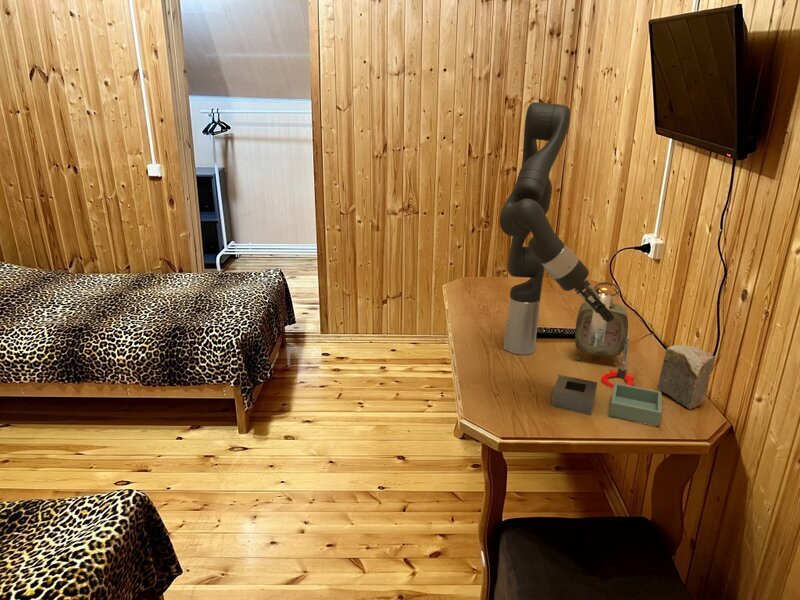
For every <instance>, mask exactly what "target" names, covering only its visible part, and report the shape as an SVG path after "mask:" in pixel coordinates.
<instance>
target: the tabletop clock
mask: <svg viewBox="0 0 800 600" xmlns="http://www.w3.org/2000/svg"><path fill="white" fill-rule="evenodd" d="M598 285H607V286H613V287H615V288H616V289H617V292H615V293H611V297H615V296H617V295H618V294H619V293H620V291H621V290H620V286H618V285H617V284H615V283H613V282H608V281H601V282H599V283H597V284H595V286H594V287H593V288H594V290H595V291H596V288H597V286H598ZM609 311H610V312H611V313H612V315H613V316H614V318H613V319H612V320H611V321H609V322H607V324H606V330H605V336H604V342H603V346H600V347H596V346H592V345H590V344H588V340H589V334H590V327H591V321H592V314H593V308H592V307H591V306H588V305H587V303H586V302H585V301H584V302H582V303H581V305H580V307H579V309H578V312H577V316H576V321H575V333H574V334H575V335H574V336H575V337H574V343H575V347H576V349H577V350H579V353H578V354H576V355H575V360H577V361H579V360H581V358H582V354H583V353H585V354H586V353H587V354H590V355H591V354H592V355H593V356H594V357H595V356H597V357H596V358H598V357H599V356H604V357H605V356H607V357H611V358H612V363H611V364H612V365H613V366H614V367H615V366H618V365H619V362H618V360H616V358H615V357H617V356H621V354H623V350H624V343H625V342H626V337H628V332H629V319H628V312H627V309H626V307H624V306H623V305H621V304H618V303H617V304H616V303H614V300H613V299H612V298H611V299H610V305H609Z"/></svg>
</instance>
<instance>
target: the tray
mask: <svg viewBox="0 0 800 600" xmlns="http://www.w3.org/2000/svg"><path fill="white" fill-rule="evenodd" d="M613 384H614V388H612V395H611V402H610V408H609V413H608V414H609V415H608V417H609V418H613V417H614V418H613V419H618V418H619V419H618V420H623V419H625V420H624V421H627V420H629V422H632V421H634V422H633V423H636V422H641V423H647V424H651V425H655V426H659V427H660V423H661V417H662V414H663V413H662V412H663V411H662V405H663V404H662V391H660V390H659V391H658V390H654V389H649V388H643V387H639V386H634V385H633V386H629V385H625V384H622V383H618V382H614V383H613ZM641 423H640V424H641ZM655 426H654V427H655Z"/></svg>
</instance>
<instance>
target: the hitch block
mask: <svg viewBox="0 0 800 600" xmlns="http://www.w3.org/2000/svg"><path fill="white" fill-rule="evenodd" d="M597 386H598V382H597V381H593V380H592V381H591V380H589V379H588V380H587V379H582V378H577V377H572V376H568V375H562V374H558V375H557V379H556V382H555V385H554V387H553V390H552V396H551V403H550V407H553V408H558V409H563V410H566V411H571V412H576V413H580V414H585V415H589V416H592V412H593V408H594V403H595V398H596V393H597Z"/></svg>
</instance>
